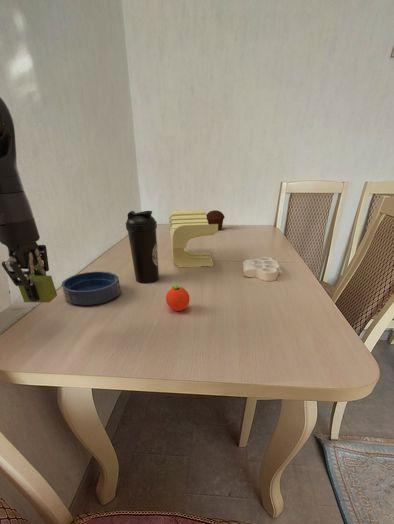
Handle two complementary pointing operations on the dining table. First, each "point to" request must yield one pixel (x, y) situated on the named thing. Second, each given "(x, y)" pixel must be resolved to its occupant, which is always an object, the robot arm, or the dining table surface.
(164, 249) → the dining table surface
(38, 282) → the sponge
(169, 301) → the clementine
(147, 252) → the water bottle
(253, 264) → the white lobed compartment tray
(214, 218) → the muffin
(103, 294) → the bowl
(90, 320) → the dining table surface
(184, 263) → the slatted curved stool
